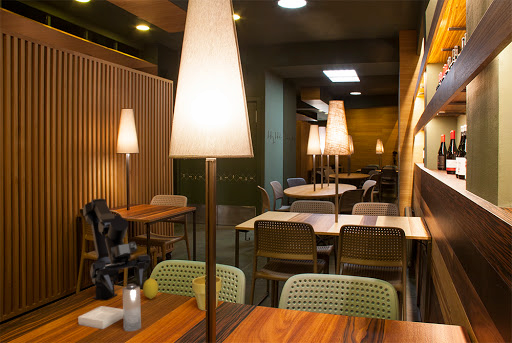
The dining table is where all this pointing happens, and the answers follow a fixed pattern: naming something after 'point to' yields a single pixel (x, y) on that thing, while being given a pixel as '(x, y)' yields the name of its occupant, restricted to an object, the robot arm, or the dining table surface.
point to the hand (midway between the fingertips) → (126, 288)
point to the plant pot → (199, 290)
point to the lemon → (150, 288)
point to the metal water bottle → (131, 307)
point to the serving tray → (101, 317)
